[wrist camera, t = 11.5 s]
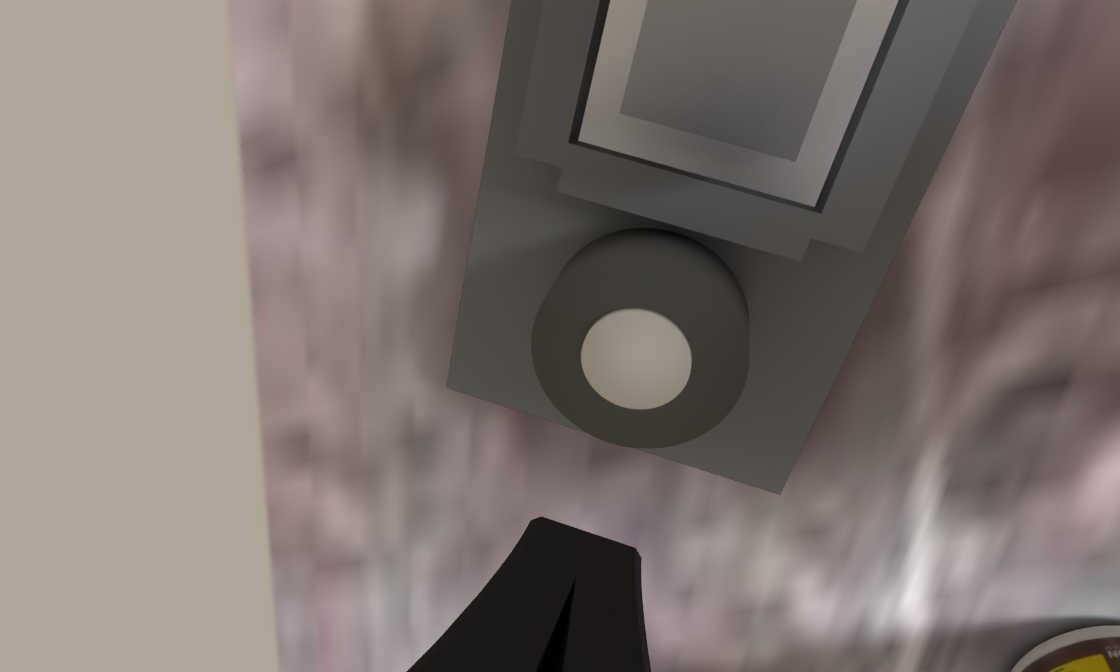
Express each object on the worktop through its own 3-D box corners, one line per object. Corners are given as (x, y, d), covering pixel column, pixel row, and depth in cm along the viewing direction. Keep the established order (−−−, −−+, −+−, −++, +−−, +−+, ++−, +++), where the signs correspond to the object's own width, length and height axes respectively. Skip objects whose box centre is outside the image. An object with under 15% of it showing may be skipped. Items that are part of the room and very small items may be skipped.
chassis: (1101, -218, 12) (1177, -257, 10) (778, 471, 19) (782, 534, 17) (583, -329, 13) (549, -388, 11) (459, 369, 20) (424, 417, 18)
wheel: (779, 262, 15) (783, 296, 13) (712, 432, 17) (708, 479, 15) (572, 202, 15) (553, 229, 14) (532, 375, 17) (510, 416, 16)
